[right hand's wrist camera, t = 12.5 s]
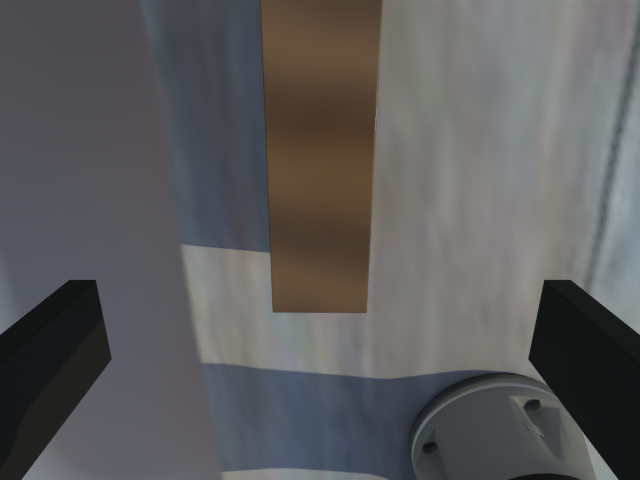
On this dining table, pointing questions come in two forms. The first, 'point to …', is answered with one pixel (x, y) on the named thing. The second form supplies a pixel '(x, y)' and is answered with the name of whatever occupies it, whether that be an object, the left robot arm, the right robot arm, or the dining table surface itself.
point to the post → (320, 149)
